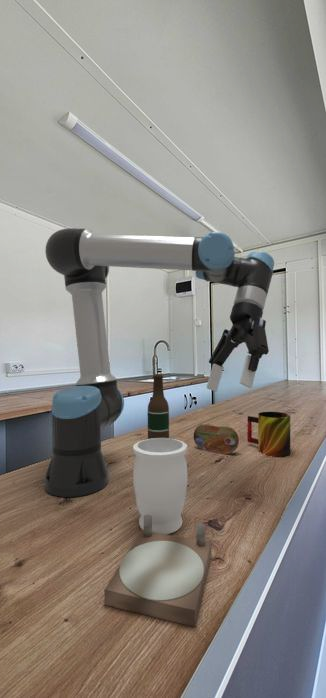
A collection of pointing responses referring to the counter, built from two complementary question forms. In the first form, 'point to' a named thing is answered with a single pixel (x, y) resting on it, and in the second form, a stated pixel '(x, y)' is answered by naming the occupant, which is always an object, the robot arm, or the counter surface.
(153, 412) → the beer bottle
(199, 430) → the tin
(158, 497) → the jar
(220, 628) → the counter surface
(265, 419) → the mug
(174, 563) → the seat board
